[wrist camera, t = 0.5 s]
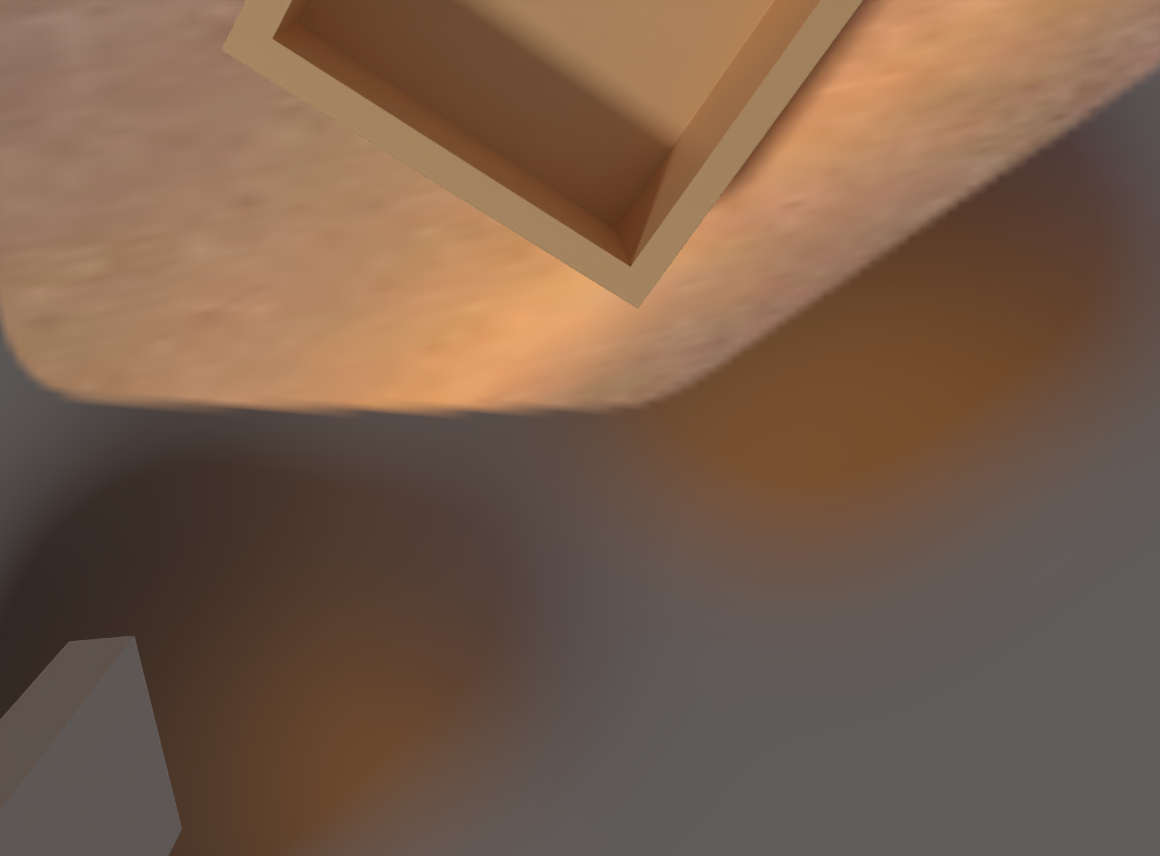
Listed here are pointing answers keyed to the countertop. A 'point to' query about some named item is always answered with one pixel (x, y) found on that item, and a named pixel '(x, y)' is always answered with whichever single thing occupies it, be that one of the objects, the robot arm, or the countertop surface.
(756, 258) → the countertop surface
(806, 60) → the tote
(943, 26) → the countertop surface
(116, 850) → the robot arm
